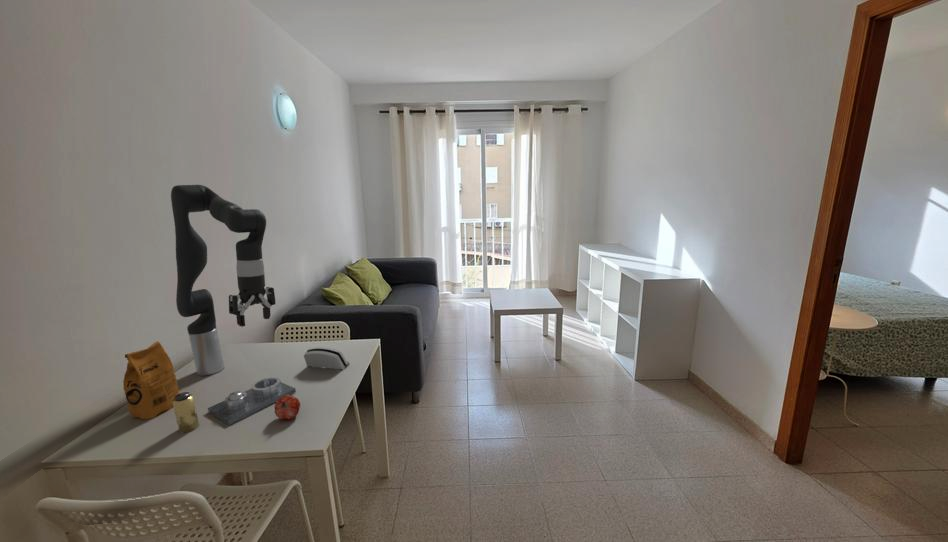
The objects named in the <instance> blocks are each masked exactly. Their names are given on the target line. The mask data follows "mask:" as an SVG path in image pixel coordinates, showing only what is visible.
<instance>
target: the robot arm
mask: <svg viewBox="0 0 948 542" xmlns="http://www.w3.org/2000/svg"><path fill="white" fill-rule="evenodd" d="M170 199H171V200H170V201H171V202H170V203H171V208H172V214H173V222H174V235H175V259H176V260H175V261H176V272H177V274H176V276H177V282H176V284H177V285H176V302H175V303H176V309H177V311H178V314H179V315H180V316H181V317H182V318H190V317H193V316H194V317H195V316H198V315H199V316H198V317H197V319H195V320H193V321H192V322H191V323H190V324H188V325H187V333H188V336H189V337H188V338H189V343H190V348H191V352H192V355H193V361H194V367H195V370H196V374H197V375H198V376H200V377H201V376H210V375H214V374H217V373H218V372H221V371H222V370H224V368H225V364H224V363H225V362H224V359H223V354H222V348H221V343H220V338H219V333H218V327H217V319H216V311H215V306H214V305H215V304H214V300H213V296H212V293H211V292H210V291H209V290H208V289H205V288H201V289H197V290H193V287H194V285H195V283H196V281H197V280H198V278H199V277H200V275H201V274H202V273H203V271H204V270H205V267H206V266H207V264H208V246H207V244H206V241H205V240H204V239H203V237H201V236H200V235H199V234H198V232H197V231H196V230H195V229H194V227H193V226H192V224H191V221H190V217H189V214H190V213H200V212H201V213H202V212H205V211H209V214H210V215H211V217H212V218H214V219H215V220H217V221H218V222H220V223H222V224H224V225H225V227H227V228H228V230H229V231H230V232H233V233H237V234H242V233H243V234H244V233H245V234H246V233H248V236H247V237H246V238H245V239H242V240H241V239H240V240H239V241H237V242H236V243H235V254H236V277H237V279H236V280H237V288H238V292H239V293H238V294H229V295H228V313H229V314H230V315H234V316H236V324H237V325H238V327H242V328H243V327H245V326H246V318H245V312H246V310H248V309H249V307H251V306H254V305H259V304H260V305H261V306H262V316H263V319H264V320H269V319H271V318H270V317H271V307H272V306H275V305H276V304H277V303H276V302H277V301H276V296H275V294H276V293H275V288H274V287H271V286H266V280H265V279H266V277H265V264H264V260H263V259H264V258H263V248H262V247H263V242H264V238H265V231H266V229H267V228H266V227H267V218H266V216H265V214H264V213H263V212H262V211H261V210H260V209H253V208H251V209H247V208H246V209H243V208H242V207H241V206H240V205H238V204H236V203H233V202H232V201H229V200H226V199H224V198H222V197H221V196H220V195H218V194H217V193H216V192H215V191H214V190H212V189H211V188H209V187H208V186H205V185H202V184H181V185H180V184H178V185H174V186H173V187H172V188H171V192H170ZM265 287H266V288H265ZM265 295H266V298H265Z"/></svg>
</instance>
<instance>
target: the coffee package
mask: <svg viewBox="0 0 948 542" xmlns="http://www.w3.org/2000/svg"><path fill="white" fill-rule="evenodd" d="M124 358H125V359H126V360H127V361H128V362H127V363H126V364H127V365H126V370H125V372H124V377H123V380H122V382H123V391H124V395H125V399H126V401H127V402H126V403H127V408H128V411H129V415H131V417H133V418H138V419H142V420H151V419H153V418H156V417H157V416H158V415H159V414H161V413H163V412H166V411H169V410H171V409H172V408H174V407H173V403H172V400H173V399H174V397H175V396H176V395H177V394H180V390H179V386H178V385H179V384H178V380H177V375H176V373H175V369H174V365H173V363H172V360H171V357H169V355H168V353H167V352H166V351H165V349H164V347H163V346H162V344H161V342H160V341H156V342H155V341H154V342H153V344H151V345H150V346H148V347H147V348H145V349H142V350H138V351H132V352H129V353H125V354H124Z"/></svg>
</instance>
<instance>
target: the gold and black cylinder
mask: <svg viewBox="0 0 948 542" xmlns="http://www.w3.org/2000/svg"><path fill="white" fill-rule="evenodd" d="M172 403H173V407H172V408H173V410H174V415H175V419H176V423H177V428H178V432H179V431H180V432H179V433H181V432H186V433H190V432H192V431H194V430H196V429H197V428H199V427H200V421H199V417H198V412H197V409H196V405H195V399H194V395H193V394H192V393H190V392H189V391H184V392H179V394H177V395H176V396H175V397H174V399H173V400H172ZM189 431H190V432H189Z"/></svg>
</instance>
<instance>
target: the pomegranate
mask: <svg viewBox="0 0 948 542" xmlns="http://www.w3.org/2000/svg"><path fill="white" fill-rule="evenodd" d="M300 408H301V402H300V399H298V398H297V397H295V396H293V395H292V394H291V395H284V396H282V397H281V398H280V399H279V400H278V401H277V402H275V403H274V414H275V416H276V417H277V418H278V419H280V420H292V419H295V417H296V416H297V415H298V414H299V412H300Z"/></svg>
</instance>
